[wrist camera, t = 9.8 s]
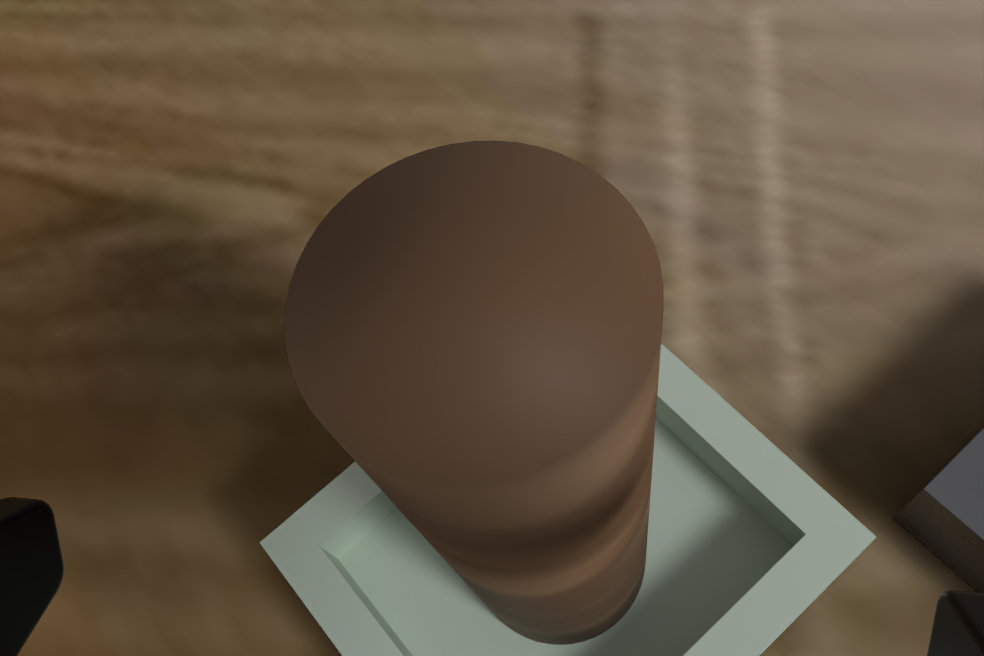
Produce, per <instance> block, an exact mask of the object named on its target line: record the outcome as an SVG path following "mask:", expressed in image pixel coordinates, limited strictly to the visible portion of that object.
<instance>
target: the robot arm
mask: <svg viewBox="0 0 984 656" xmlns="http://www.w3.org/2000/svg"><path fill="white" fill-rule="evenodd" d="M63 568H64V567H63V560H62V555H61V549H60V544H59V539H58V534H57V529H56V524H55V519H54V514H53V511H52V509H51V508H50V506H49V505H48V504H47V503H46V502H44V501H42V500H37V499H27V498H17V497H9V498H4V499H1V500H0V656H17V655H18V653H19V652H20V650H21V648H22V647H23V645H24V644H25V642H26V640H27V639H28V637H29V636H30V634H31V632H32V631H33V629H34V628H35V626H36V624H37V623H38V621H39V620H40V618H41V616H42V615H43V613H44V612H45V610H46V608H47V607H48V605H49V604H50V602H51V600H52V599H53V597H54V596H55V594H56V592H57V591H58V589H59V587H60V584H61V581H62V577H63ZM927 656H984V593H975V592H965V591H954V590H948V591H946V592H944V593H943V594H942V595H941V596H940V598H939V600H938V602H937V606H936V611H935V616H934V622H933V627H932V632H931V637H930V643H929V648H928V653H927Z"/></svg>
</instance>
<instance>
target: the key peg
mask: <svg viewBox="0 0 984 656" xmlns="http://www.w3.org/2000/svg"><path fill="white" fill-rule="evenodd" d="M662 322H663V280H662V274H661V268H660V262H659V259H658V256H657V253H656V250H655V247H654V244H653V241H652V239H651V237H650V235H649V233H648V231H647V229H646V227H645V225H644V223H643V221H642V220H641V218H640V217H639V215H638V214H637V212H636V211H635V210H634V208H633V207H632V205H631V204H630V203H629V202H628V201H627V200H626V198H625V197H624V196H623V195H622V194H621V193H620V192H619V191H618V190H617V189H616V188H615V187H614V186H613V185H611V184H610V183H609V182H608V181H607V180H605V179H604V178H603V177H602V176H601V175H599V174H598V173H596V172H595V171H593V170H591V169H590V168H588V167H586V166H585V165H583V164H582V163H580V162H578V161H575V160H573V159H571V158H569V157H567V156H565V155H562V154H560V153H557V152H554V151H551V150H548V149H545V148H541V147H537V146H532V145H527V144H522V143H516V142H504V141H471V142H464V143H456V144H449V145H445V146H441V147H437V148H433V149H429V150H426V151H423V152H420V153H417V154H414V155H412V156H409V157H406V158H404V159H402V160H400V161H398V162H396V163H394V164H392V165H389V166H387V167H385V168H384V169H382V170H381V171H379V172H377V173H376V174H374V175H372V176H371V177H369V178H368V179H366V180H365V181H363V182H362V183H361V184H360V185H358V186H357V187H356V188H354V189H353V190H352V191H351V192H349V193H348V194H347V195H346V196H345V197H344V198H343V199H342V200H341V201H340V202H339V203H338V204H337V205H336V206H335V207H334V208H333V209H332V210H331V211H330V212H329V213H328V215H327V216H326V217H325V218H324V219H323V221H322V222H321V223H320V224H319V226H318V227H317V229H316V230H315V232H314V233H313V235H312V236H311V238H310V239H309V241H308V243H307V244H306V246H305V248H304V250H303V252H302V254H301V256H300V258H299V260H298V263H297V265H296V268H295V271H294V274H293V277H292V280H291V283H290V286H289V291H288V296H287V301H286V307H285V325H284V330H285V341H286V351H287V355H288V359H289V363H290V367H291V372H292V374H293V377H294V379H295V381H296V384H297V386H298V389H299V391H300V393H301V395H302V397H303V398H304V400H305V402H306V403H307V405H308V407H309V408H310V410H311V412H312V413H313V414H314V415H315V417H316V418H317V419H318V420H319V421H320V423H321V424H322V425H323V426H324V427H325V429H326V430H327V431H328V432H329V433H330V434H331V435H332V436H333V437H334V439H335V440H336V441H337V442H338V443H339V444H340V445H341V446H342V447H343V448H344V450H345V451H346V452H347V453H348V454H349V455H350V456H351V457H352V458H353V459H354V461H355V462H356V463H357V464H358V465H359V466H360V467H361V468H362V469H363V470H364V472H365V473H366V474H367V475H368V476H369V477H370V478H371V479H372V480H373V481H374V483H375V484H376V485H377V486H378V487H379V488H380V489H381V490H382V491H383V492H384V494H385V495H386V496H387V497H388V498H389V499H390V500H391V501H392V502H393V503H394V504H395V506H396V507H397V508H398V509H399V510H400V511H401V512H402V513H403V514H404V515H405V517H406V518H407V519H408V520H409V521H410V522H411V523H412V524H413V525H414V526H415V528H416V529H417V530H418V531H419V532H420V533H421V534H422V535H423V536H424V537H425V539H426V540H427V541H428V542H429V543H430V544H431V545H432V546H433V547H434V548H435V550H436V551H437V552H438V553H439V554H440V555H441V556H442V557H443V558H444V559H445V561H446V562H447V563H448V564H449V565H450V566H451V567H452V568H453V569H454V570H455V571H456V573H457V574H458V575H459V576H460V577H461V578H462V579H463V580H464V581H465V582H466V584H467V585H468V586H469V587H470V588H471V589H472V590H473V591H474V592H475V593H476V595H477V596H478V597H479V598H480V599H481V600H482V601H483V602H484V603H485V604H486V606H487V607H488V608H489V609H490V610H491V611H492V612H493V613H494V614H495V615H496V617H497V618H498V619H499V620H500V621H502V622H503V623H504V624H505V625H506V626H507V627H509V628H510V629H511V630H513V631H514V632H516V633H518V634H520V635H522V636H524V637H525V638H528V639H531V640H534V641H536V642H540V643H545V644H553V645H567V644H575V643H580V642H584V641H587V640H590V639H592V638H595V637H597V636H599V635H601V634H602V633H604V632H606V631H607V630H609V629H610V628H611V627H613V626H614V625H615V624H616V623H617V622H619V621H620V620H621V619H622V618H623V617H624V615H625V614H626V613H627V612H628V610H629V609H630V608H631V606H632V604H633V603H634V601H635V599H636V598H637V595H638V593H639V590H640V588H641V585H642V581H643V578H644V572H645V564H646V550H647V536H648V522H649V507H650V493H651V479H652V465H653V450H654V436H655V422H656V408H657V393H658V379H659V365H660V351H661V336H662Z"/></svg>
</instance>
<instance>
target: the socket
mask: <svg viewBox="0 0 984 656" xmlns="http://www.w3.org/2000/svg"><path fill="white" fill-rule="evenodd" d="M893 518H894V519H895V520H896V521H898V522H899V523H900V524H901V525H902V526H903V527H904V528H906V529H907V530H908V531H909V532H910V533H911V534H912V535H913V536H915V537H916V538H917V539H918V540H919V541H920V542H921V543H923V544H924V545H925V546H926V547H927V548H928V549H929V550H930V551H932V552H933V553H934V554H935V555H936V556H937V557H938V558H940V559H941V560H942V561H943V562H944V563H945V564H946V565H948V566H949V567H950V568H951V569H952V570H953V571H954V572H955V573H957V574H958V575H959V576H960V577H961V578H962V579H963V580H965V581H966V582H967V583H968V584H969V585H970V586H971V587H973V588H974V589H975V590H976V591H977V592H978V593H984V426H983V427H982V428H981V429H980V430H979V431H978V432H977V433H976V434H975V435H974V436H973V437H972V438H971V439H970V440H969V441H968V442H967V443H966V444H965V445H964V446H963V447H962V448H961V449H960V450H959V451H958V452H957V453H956V454H955V455H954V456H953V457H952V458H951V459H950V460H949V461H948V462H947V463H946V464H945V465H944V466H943V467H942V468H941V469H940V470H939V471H938V472H937V473H936V474H935V475H934V476H933V477H932V479H931V480H930V481H929V482H928V483H927V484H926V485H925V486H924V487H923V488H922V489H921V490H920V491H919V492H918V493H917V494H916V495H915V496H914V497H913V498H912V499H911V500H910V501H909V502H908V503H907V504H906V505H905V506H904V507H903V508H902V509H901V510H900V511H899V512H898V513H897V514H896V515H895V516H894V517H893Z"/></svg>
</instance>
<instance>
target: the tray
mask: <svg viewBox="0 0 984 656" xmlns="http://www.w3.org/2000/svg"><path fill="white" fill-rule="evenodd" d="M875 538H876V536H875V535H874V534H873V533H872V532H870V531H869V530H868V529H867V528H866V527H865V526H864V525H863V524H862V523H860V522H859V521H858V520H857V519H856V518H855V517H854V516H853V515H852V514H850V513H849V512H848V511H847V510H846V509H845V508H844V507H843V506H842V505H840V504H839V503H838V502H837V501H836V500H835V499H834V498H833V497H832V496H830V495H829V494H828V493H827V492H826V491H825V490H824V489H823V488H822V487H820V486H819V485H818V484H817V483H816V482H815V481H814V480H813V479H812V478H810V477H809V476H808V475H807V474H806V473H805V472H804V471H803V470H802V469H800V468H799V467H798V466H797V465H796V464H795V463H794V462H793V461H792V460H790V459H789V458H788V457H787V456H786V455H785V454H784V453H783V452H782V451H780V450H779V449H778V448H777V447H776V446H775V445H774V444H773V443H772V442H770V441H769V440H768V439H767V438H766V437H765V436H764V435H763V434H762V433H760V432H759V431H758V430H757V429H756V428H755V427H754V426H753V425H751V424H750V423H749V422H748V421H747V420H746V419H745V418H744V417H743V416H741V415H740V414H739V413H738V412H737V411H736V410H735V409H734V408H733V407H731V406H730V405H729V404H728V403H727V402H726V401H725V400H724V399H723V398H721V397H720V396H719V395H718V394H717V393H716V392H715V391H714V390H713V389H711V388H710V387H709V386H708V385H707V384H706V383H705V382H704V381H703V380H701V379H700V378H699V377H698V376H697V375H696V374H695V373H694V372H693V371H691V370H690V369H689V368H688V367H687V366H686V365H685V364H684V363H683V362H681V361H680V360H679V359H678V358H677V357H676V356H675V355H674V354H673V353H671V352H670V351H669V350H668V349H667V348H666V347H665V346H664V345H663V344H661V351H660V365H659V379H658V393H657V408H656V422H655V436H654V450H653V465H652V479H651V493H650V507H649V522H648V536H647V550H646V564H645V572H644V578H643V581H642V585H641V588H640V590H639V593H638V595H637V598H636V599H635V601H634V603H633V604H632V606H631V608H630V609H629V610H628V612H627V613H626V614H625V615H624V617H623V618H622V619H621V620H620V621H619V622H617V623H616V624H615V625H614V626H613V627H611V628H610V629H609V630H607V631H606V632H604V633H602V634H601V635H599V636H597V637H595V638H592V639H590V640H587V641H584V642H580V643H575V644H567V645H553V644H545V643H540V642H536V641H534V640H531V639H528V638H525V637H524V636H522V635H520V634H518V633H516V632H514V631H513V630H511V629H510V628H509V627H507V626H506V625H505V624H504V623H503V622H502V621H500V620H499V619H498V618H497V617H496V615H495V614H494V613H493V612H492V611H491V610H490V609H489V608H488V607H487V606H486V604H485V603H484V602H483V601H482V600H481V599H480V598H479V597H478V596H477V595H476V593H475V592H474V591H473V590H472V589H471V588H470V587H469V586H468V585H467V584H466V582H465V581H464V580H463V579H462V578H461V577H460V576H459V575H458V574H457V573H456V571H455V570H454V569H453V568H452V567H451V566H450V565H449V564H448V563H447V562H446V561H445V559H444V558H443V557H442V556H441V555H440V554H439V553H438V552H437V551H436V550H435V548H434V547H433V546H432V545H431V544H430V543H429V542H428V541H427V540H426V539H425V537H424V536H423V535H422V534H421V533H420V532H419V531H418V530H417V529H416V528H415V526H414V525H413V524H412V523H411V522H410V521H409V520H408V519H407V518H406V517H405V515H404V514H403V513H402V512H401V511H400V510H399V509H398V508H397V507H396V506H395V504H394V503H393V502H392V501H391V500H390V499H389V498H388V497H387V496H386V495H385V494H384V492H383V491H382V490H381V489H380V488H379V487H378V486H377V485H376V484H375V483H374V481H373V480H372V479H371V478H370V477H369V476H368V475H367V474H366V473H365V472H364V470H363V469H362V468H361V467H360V466H359V465H358V464H357V463H356V462H354V463H353V464H351V465H350V466H349V467H348V468H347V469H346V470H344V471H343V472H342V473H341V474H340V475H339V476H337V477H336V478H335V479H334V480H333V481H331V482H330V483H329V484H328V485H327V486H326V487H324V488H323V489H322V490H321V491H320V492H319V493H317V494H316V495H315V496H314V497H313V498H311V499H310V500H309V501H308V502H307V503H306V504H304V505H303V506H302V507H301V508H300V509H298V510H297V511H296V512H295V513H294V514H293V515H291V516H290V517H289V518H288V519H287V520H286V521H284V522H283V523H282V524H281V525H280V526H278V527H277V528H276V529H275V530H274V531H273V532H271V533H270V534H269V535H268V536H267V537H266V538H264V539H263V540H262V541H261V542H260V544H261V545H262V547H263V548H264V550H265V551H266V552H267V554H268V555H269V556H270V558H271V559H272V560H273V562H274V563H275V565H276V566H277V567H278V569H279V570H280V571H281V573H282V574H283V576H284V577H285V578H286V580H287V581H288V582H289V584H290V585H291V586H292V588H293V589H294V591H295V592H296V593H297V595H298V596H299V597H300V599H301V600H302V601H303V603H304V604H305V606H306V607H307V608H308V610H309V611H310V612H311V614H312V615H313V616H314V618H315V619H316V621H317V622H318V623H319V625H320V626H321V627H322V629H323V630H324V632H325V633H326V634H327V636H328V637H329V638H330V640H331V641H332V642H333V644H334V645H335V647H336V648H337V649H338V651H339V652H340V653H341V655H342V656H760V655H761V654H762V653H763V652H764V651H765V650H766V649H767V648H768V647H769V646H770V645H771V644H772V643H773V641H774V640H775V639H776V638H777V637H778V636H779V635H780V634H781V633H782V632H783V631H784V630H785V629H786V628H787V627H788V626H789V625H790V624H791V623H792V622H793V621H794V620H795V619H796V618H797V617H798V616H799V615H800V614H801V613H802V612H803V611H804V610H805V609H806V608H807V607H808V606H809V605H810V604H811V603H812V602H813V601H814V600H815V599H816V598H817V597H818V596H819V595H820V594H821V593H822V592H823V591H824V590H825V589H826V588H827V587H828V586H829V585H830V584H831V583H832V582H833V581H834V580H835V579H836V578H837V577H838V576H839V575H840V574H841V573H842V572H843V571H844V570H845V569H846V568H847V567H848V565H849V564H850V563H851V562H852V561H853V560H854V559H855V558H856V557H857V556H858V555H859V554H860V553H861V552H862V551H863V550H864V549H865V548H866V547H867V546H868V545H869V544H870V543H871V542H872V541H873V540H874V539H875Z"/></svg>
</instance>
